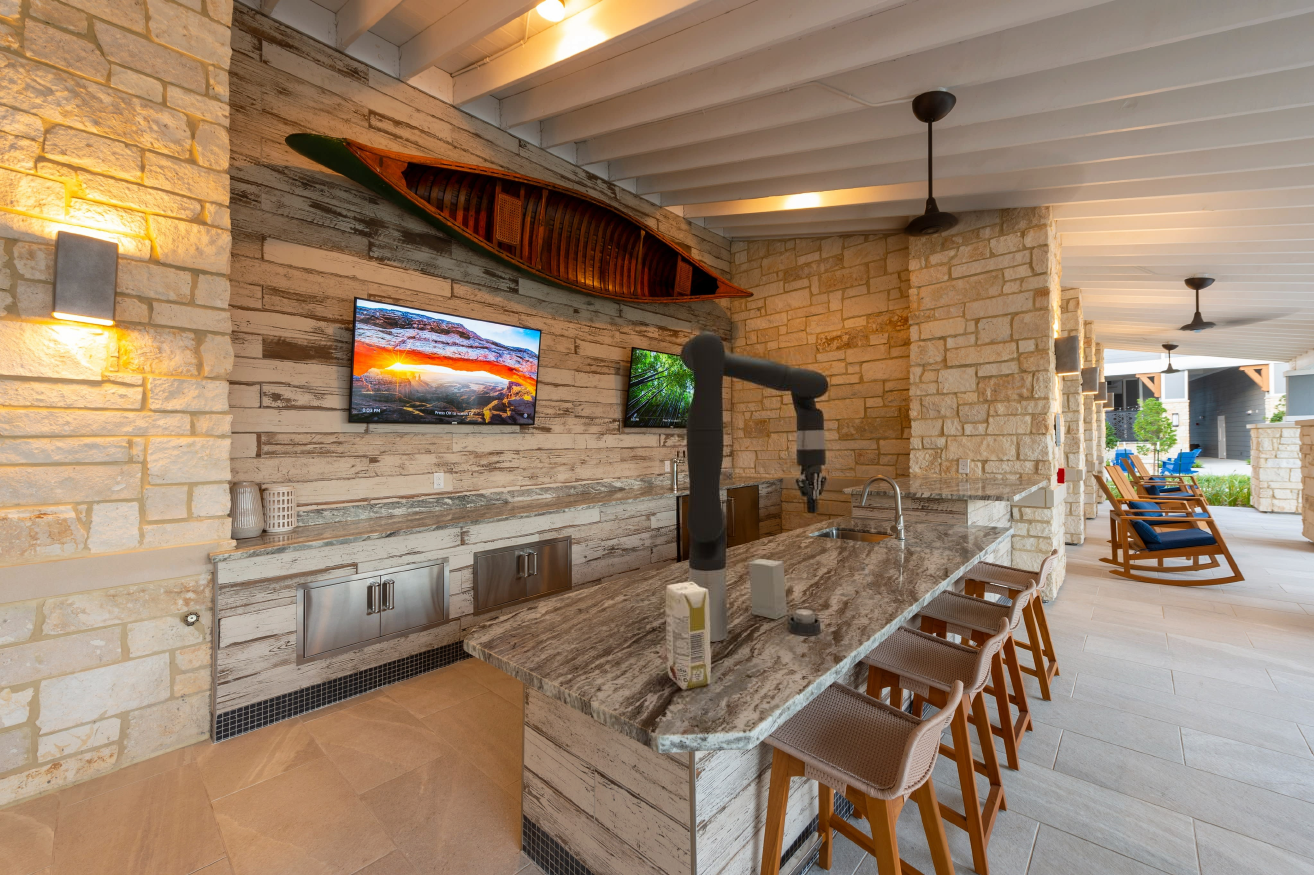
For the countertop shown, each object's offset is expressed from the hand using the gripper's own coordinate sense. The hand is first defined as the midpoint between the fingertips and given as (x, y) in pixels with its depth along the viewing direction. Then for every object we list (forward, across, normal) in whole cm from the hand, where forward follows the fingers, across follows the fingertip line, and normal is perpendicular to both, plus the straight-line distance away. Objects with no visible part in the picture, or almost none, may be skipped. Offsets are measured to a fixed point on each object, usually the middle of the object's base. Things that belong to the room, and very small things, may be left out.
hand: (812, 512), depth 140 cm
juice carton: (+29, -48, +2) cm, 56 cm away
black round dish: (+29, -8, -1) cm, 30 cm away
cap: (+28, -8, -1) cm, 29 cm away
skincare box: (+29, -3, +12) cm, 32 cm away
